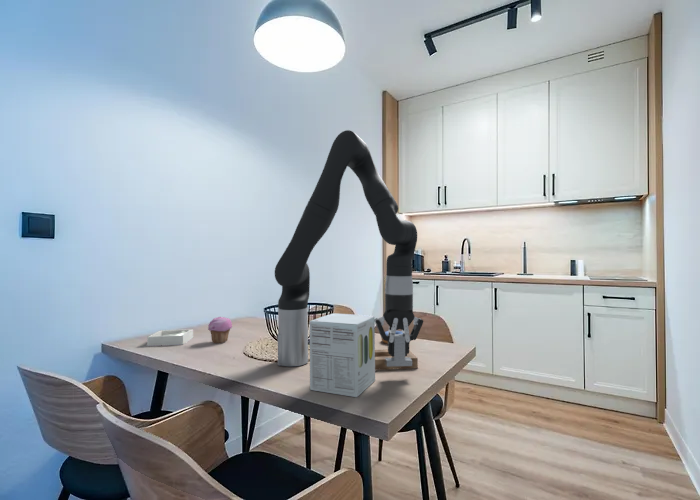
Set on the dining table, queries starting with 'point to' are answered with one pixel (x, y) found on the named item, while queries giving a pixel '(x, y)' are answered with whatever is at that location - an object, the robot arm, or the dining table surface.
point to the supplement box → (342, 353)
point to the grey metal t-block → (398, 353)
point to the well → (383, 354)
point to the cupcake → (220, 329)
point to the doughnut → (387, 335)
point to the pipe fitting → (176, 333)
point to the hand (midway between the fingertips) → (398, 355)
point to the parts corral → (169, 337)
